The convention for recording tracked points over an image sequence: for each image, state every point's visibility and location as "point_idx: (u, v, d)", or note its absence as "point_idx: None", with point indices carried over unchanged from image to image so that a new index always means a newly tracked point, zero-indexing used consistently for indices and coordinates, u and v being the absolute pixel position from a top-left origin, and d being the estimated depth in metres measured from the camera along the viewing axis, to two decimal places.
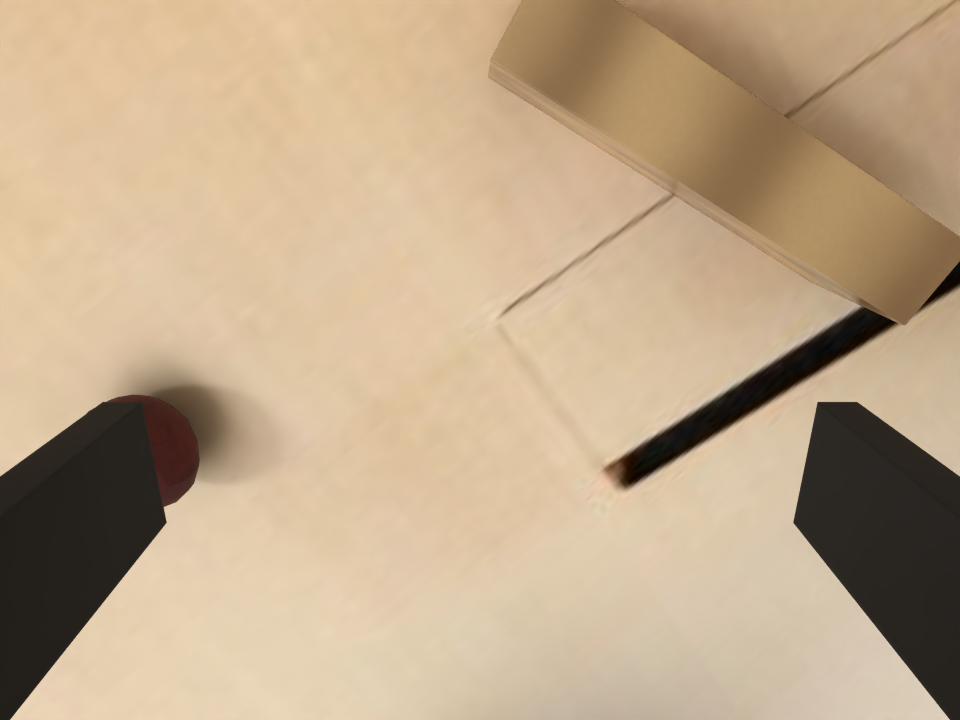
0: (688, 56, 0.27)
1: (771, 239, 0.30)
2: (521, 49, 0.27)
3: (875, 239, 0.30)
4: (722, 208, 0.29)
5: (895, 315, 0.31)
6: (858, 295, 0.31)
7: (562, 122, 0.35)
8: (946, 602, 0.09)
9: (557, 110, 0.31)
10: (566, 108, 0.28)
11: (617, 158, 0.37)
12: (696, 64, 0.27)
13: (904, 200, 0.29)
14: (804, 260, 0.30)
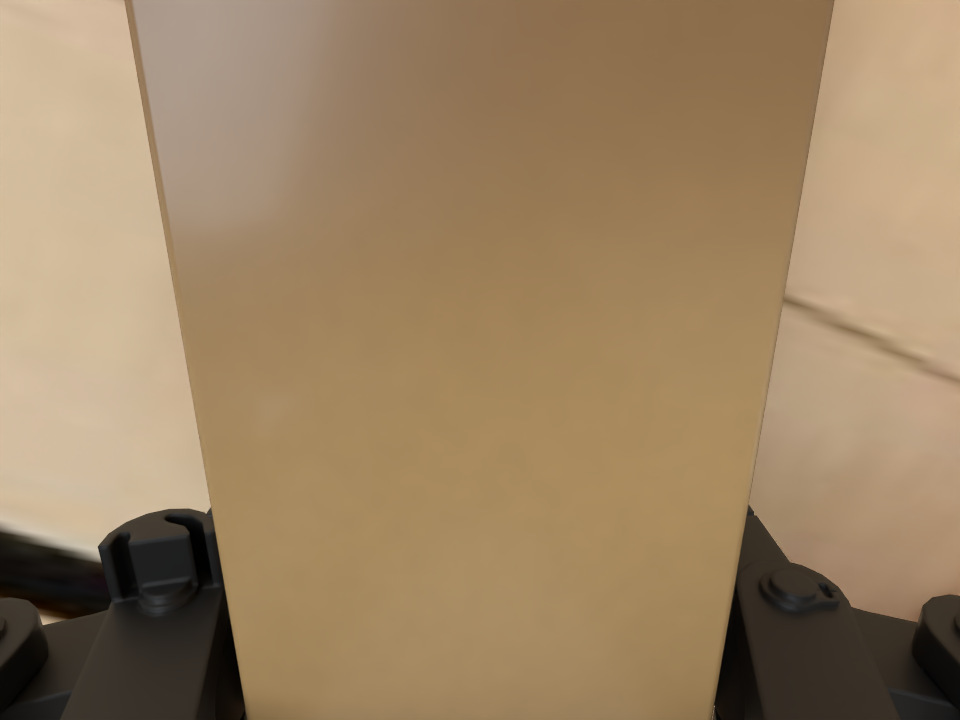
0: None
1: (194, 390, 0.05)
2: None
3: None
4: None
5: None
6: None
7: None
8: None
9: None
10: None
11: None
12: None
13: None
14: (229, 596, 0.06)
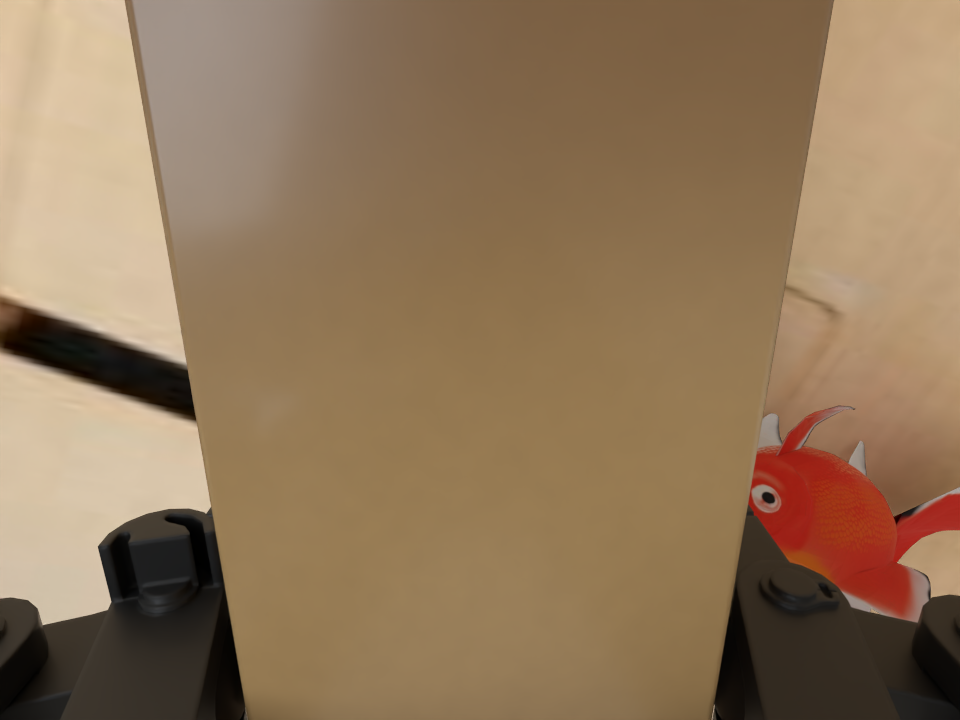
0: None
1: (194, 390, 0.05)
2: None
3: None
4: None
5: None
6: None
7: None
8: None
9: None
10: None
11: None
12: None
13: None
14: (229, 595, 0.06)
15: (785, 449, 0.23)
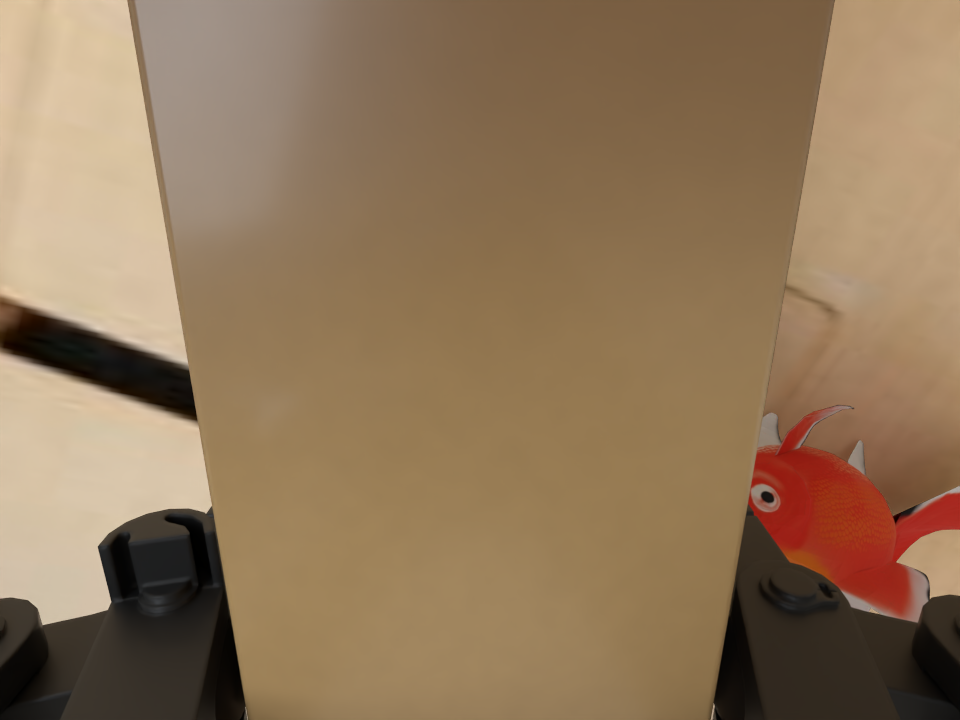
0: None
1: (195, 388, 0.05)
2: None
3: None
4: None
5: None
6: None
7: None
8: None
9: None
10: None
11: None
12: None
13: None
14: (229, 593, 0.06)
15: (784, 448, 0.23)
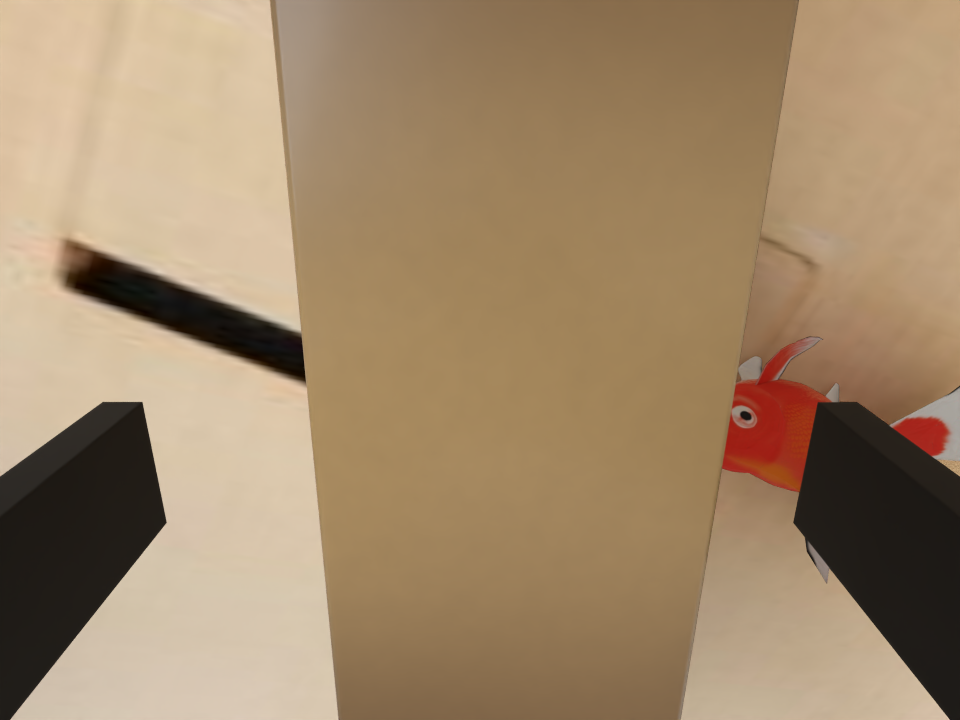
0: None
1: (290, 187, 0.06)
2: None
3: (528, 559, 0.07)
4: None
5: None
6: (332, 629, 0.08)
7: None
8: (947, 602, 0.09)
9: None
10: None
11: None
12: None
13: (703, 557, 0.07)
14: (309, 380, 0.07)
15: (763, 379, 0.26)
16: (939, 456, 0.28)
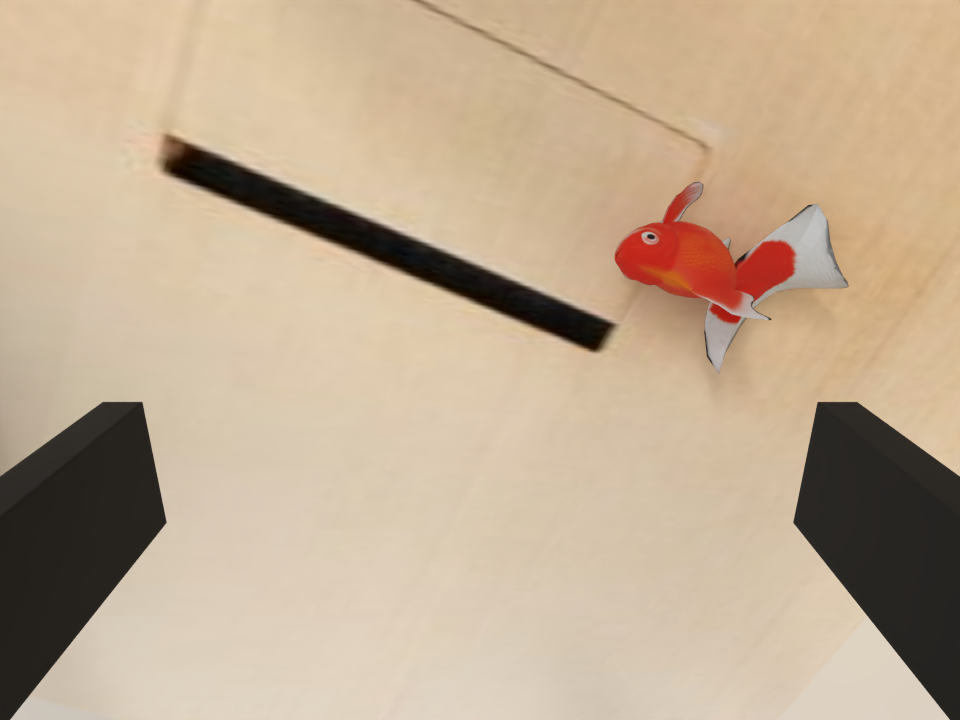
0: None
1: None
2: None
3: None
4: None
5: None
6: None
7: None
8: (947, 603, 0.09)
9: None
10: None
11: None
12: None
13: None
14: None
15: (667, 219, 0.38)
16: (794, 277, 0.39)
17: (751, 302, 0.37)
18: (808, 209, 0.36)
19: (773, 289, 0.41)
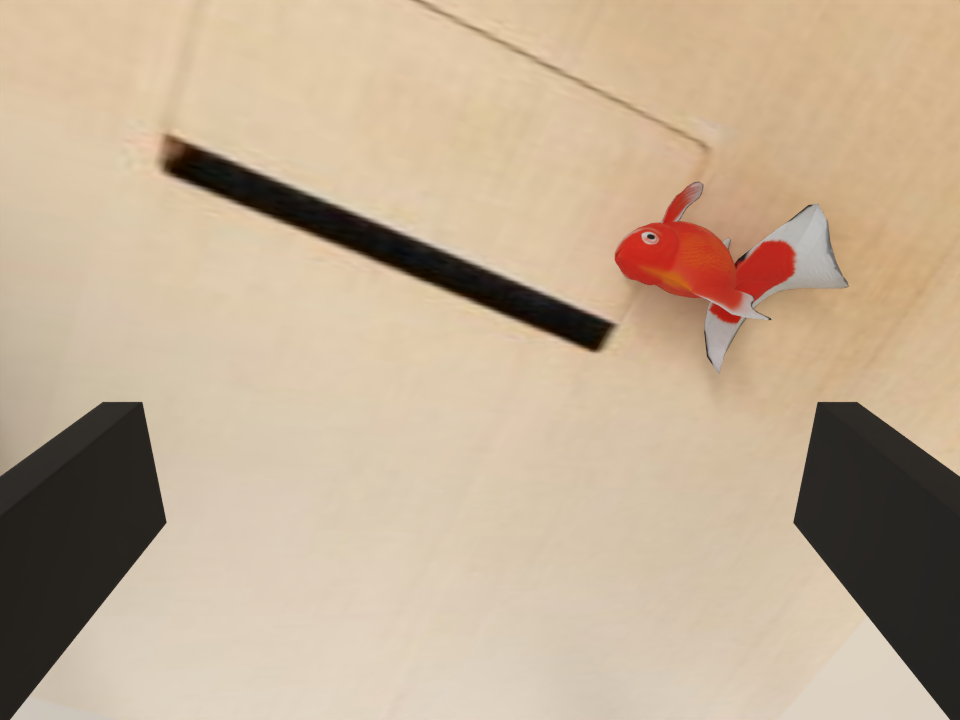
0: None
1: None
2: None
3: None
4: None
5: None
6: None
7: None
8: (947, 603, 0.09)
9: None
10: None
11: None
12: None
13: None
14: None
15: (667, 219, 0.38)
16: (794, 277, 0.39)
17: (751, 302, 0.37)
18: (808, 209, 0.36)
19: (773, 289, 0.41)
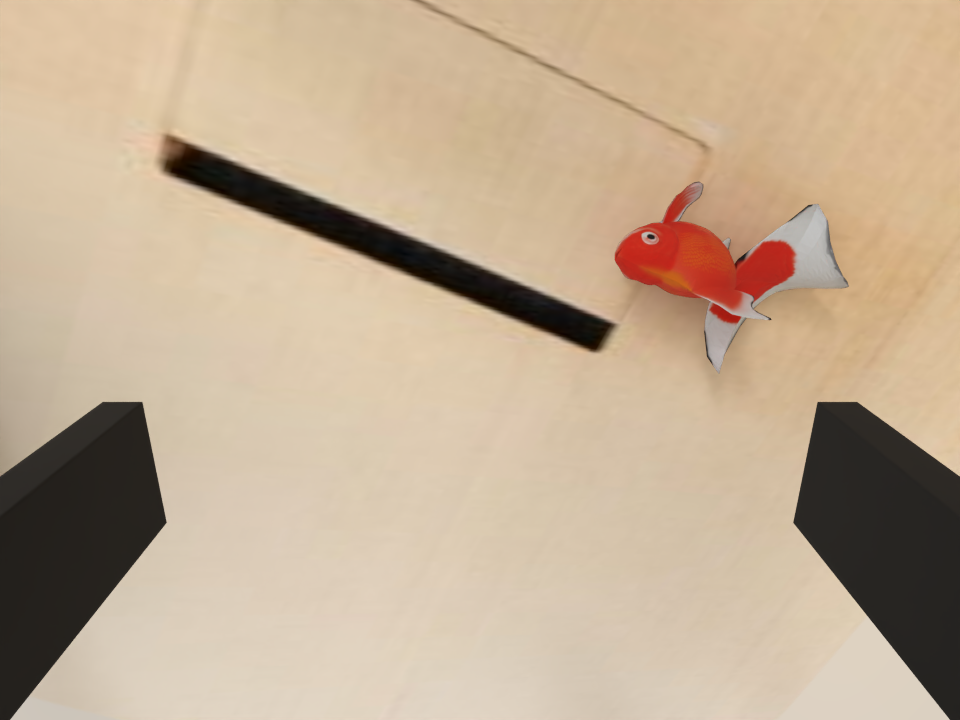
0: None
1: None
2: None
3: None
4: None
5: None
6: None
7: None
8: (947, 603, 0.09)
9: None
10: None
11: None
12: None
13: None
14: None
15: (667, 219, 0.38)
16: (794, 277, 0.39)
17: (751, 302, 0.37)
18: (808, 209, 0.36)
19: (773, 289, 0.41)
